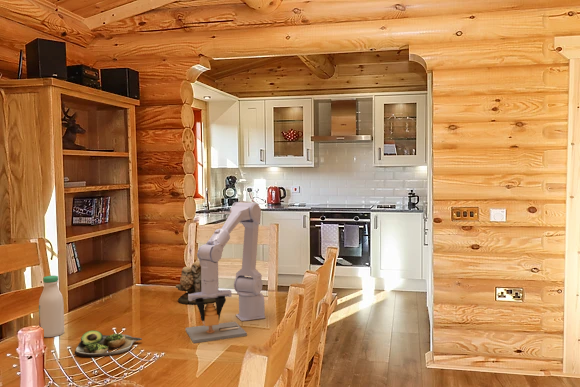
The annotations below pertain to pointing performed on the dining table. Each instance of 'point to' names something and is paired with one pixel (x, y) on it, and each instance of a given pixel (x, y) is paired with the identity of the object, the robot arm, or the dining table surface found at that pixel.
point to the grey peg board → (215, 332)
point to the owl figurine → (191, 284)
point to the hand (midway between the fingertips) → (210, 319)
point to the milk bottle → (51, 308)
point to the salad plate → (103, 344)
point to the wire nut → (210, 315)
